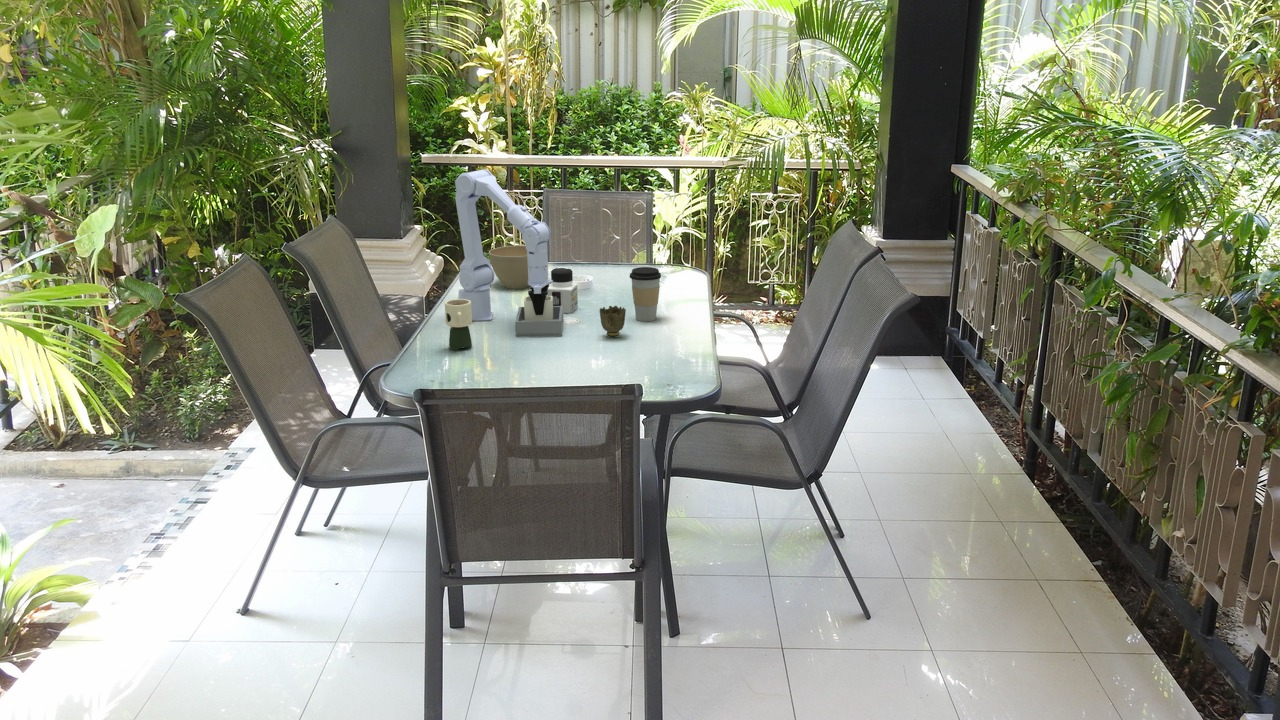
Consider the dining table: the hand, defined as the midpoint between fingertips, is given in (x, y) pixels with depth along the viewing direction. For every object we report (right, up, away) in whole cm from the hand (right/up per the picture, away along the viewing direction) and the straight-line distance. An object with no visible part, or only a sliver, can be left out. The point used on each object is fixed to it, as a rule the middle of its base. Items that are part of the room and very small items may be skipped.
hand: (539, 311), depth 309 cm
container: (+5, +1, +21) cm, 22 cm away
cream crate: (0, -2, +1) cm, 2 cm away
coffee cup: (+31, -2, +10) cm, 32 cm away
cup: (+21, -7, -6) cm, 23 cm away
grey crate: (0, -5, +2) cm, 5 cm away
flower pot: (-12, +11, +50) cm, 52 cm away
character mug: (-20, -11, -15) cm, 28 cm away
